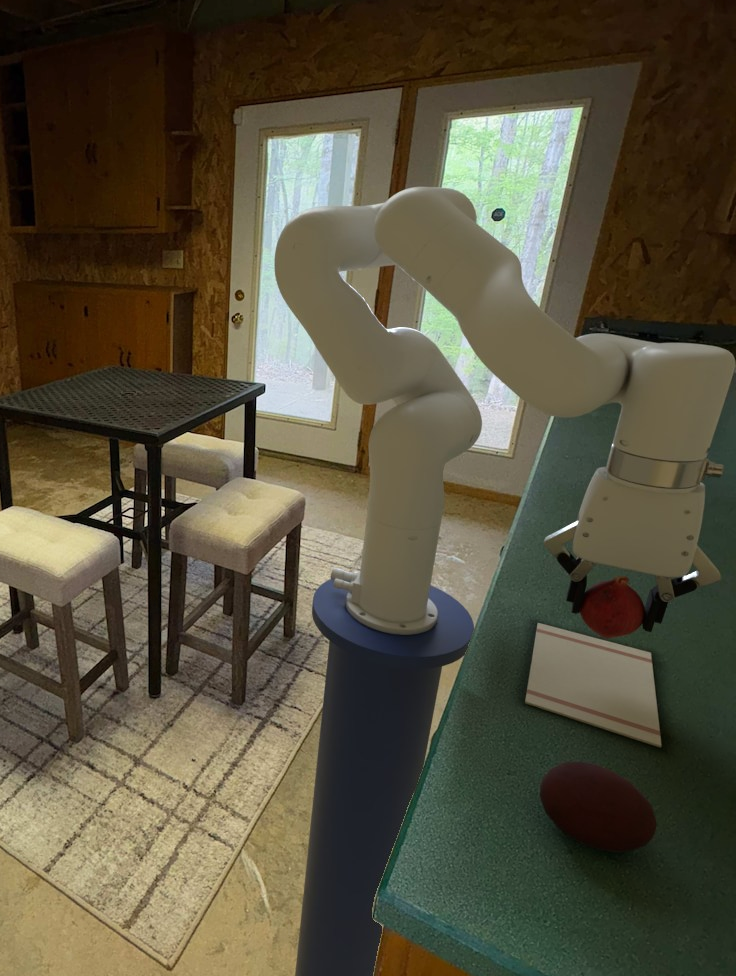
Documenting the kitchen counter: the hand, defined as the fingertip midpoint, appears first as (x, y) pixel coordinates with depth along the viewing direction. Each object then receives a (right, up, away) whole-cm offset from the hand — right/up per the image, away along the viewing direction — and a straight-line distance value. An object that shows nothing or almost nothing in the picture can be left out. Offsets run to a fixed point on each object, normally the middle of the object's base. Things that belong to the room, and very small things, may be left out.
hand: (610, 615), depth 70 cm
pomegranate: (0, -3, +1) cm, 3 cm away
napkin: (0, -8, +3) cm, 9 cm away
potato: (-13, -16, -15) cm, 26 cm away
